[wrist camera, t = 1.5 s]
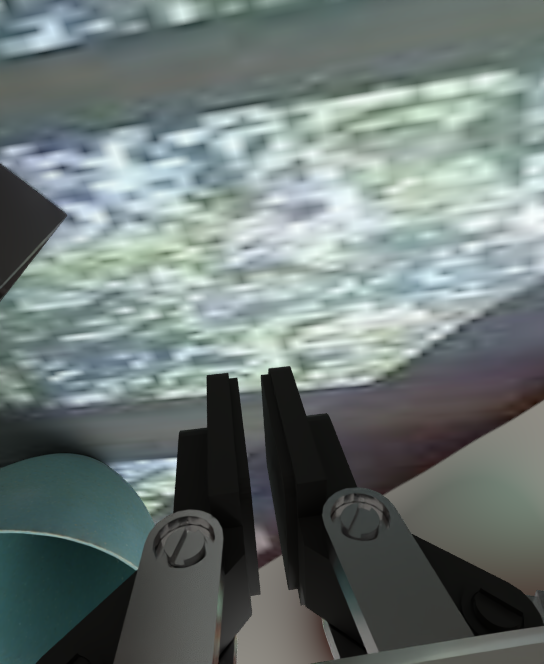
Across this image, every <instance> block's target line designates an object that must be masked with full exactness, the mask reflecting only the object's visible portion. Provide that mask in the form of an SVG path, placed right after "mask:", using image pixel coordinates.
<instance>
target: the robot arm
mask: <svg viewBox="0 0 544 664" xmlns="http://www.w3.org/2000/svg"><path fill="white" fill-rule="evenodd" d="M261 387H262V402H263V417H264V431H265V446H266V459H267V468H268V474H269V480H270V486H271V492H272V498H273V503H274V509H275V515H276V521H277V527H278V532H279V538H280V544H281V550H282V556H283V561H284V567H285V572H286V579H287V585H288V589H289V590H293V589H298V593H299V598H300V603H301V605H305V606H306V607H307V608H308V609H310V610H312V611H313V612H314V613H316V614H317V615H319V616H320V617H322V621H323V627H324V631H325V634H326V637H327V640H328V643H329V646H330V649H331V652H332V654H333V657H334V660H330V661H324V662H318V663H312V664H544V591H540V590H537V591H536V593H535V596H528V595H525V594H524V593H523V592H522V591H521V590H519V589H517V588H516V587H514V586H513V585H511V584H510V583H508V582H506V581H504V580H502V579H500V578H498V577H496V576H494V575H492V574H490V573H488V572H486V571H484V570H482V569H480V568H478V567H476V566H474V565H472V564H470V563H468V562H466V561H464V560H462V559H461V558H458V557H457V556H455V555H453V554H451V553H449V552H447V551H445V550H443V549H441V548H439V547H437V546H435V545H433V544H431V543H429V542H427V541H425V540H423V539H421V538H419V537H417V536H415V535H413V534H411V532H410V531H409V529H408V527H407V526H406V524H405V523H404V521H403V519H402V518H401V516H400V514H399V513H398V511H397V510H396V508H395V507H394V505H393V504H392V503H391V502H390V501H389V500H388V499H387V498H386V497H384V496H383V495H381V494H380V493H378V492H375V491H372V490H370V489H365V488H357V486H356V483H355V480H354V478H353V475H352V473H351V470H350V468H349V465H348V463H347V460H346V458H345V455H344V452H343V450H342V447H341V445H340V442H339V440H338V437H337V435H336V432H335V429H334V427H333V424H332V422H331V419H330V417H329V415H328V414H327V413H326V414H317V415H309V416H306V414H305V411H304V407H303V404H302V401H301V398H300V395H299V392H298V389H297V386H296V383H295V379H294V376H293V373H292V370H291V367H290V366H287V367H278V368H269V370H268V374H266V375H261ZM254 595H260V583H259V573H258V561H257V551H256V540H255V529H254V518H253V507H252V496H251V487H250V478H249V470H248V462H247V453H246V445H245V437H244V429H243V420H242V412H241V404H240V396H239V387H238V379H237V378H230V379H229V375H228V373H223V374H214V375H207V428H200V429H192V430H183V431H180V432H179V440H178V454H177V468H176V482H175V497H174V511H173V514H171V515H169V516H166V517H165V518H164V519H162V520H161V521H160V522H158V523H157V524H156V525H155V526H154V527H153V529H152V530H151V531H150V532H149V534H148V537H147V539H146V541H145V544H144V548H143V552H142V555H141V559H140V563H139V567H138V569H137V570H136V571H135V572H134V573H133V574H132V575H131V576H130V577H129V578H128V579H126V580H125V581H124V582H123V583H122V584H121V585H120V586H119V587H118V588H117V589H115V590H114V591H113V592H112V593H111V594H110V595H109V596H108V597H107V598H106V599H104V600H103V601H102V602H101V603H100V604H99V605H98V606H97V607H96V608H95V609H93V610H92V611H91V612H90V613H89V614H88V615H87V616H86V617H85V618H84V619H82V620H81V621H80V622H79V623H78V624H77V625H76V626H75V627H74V628H73V629H72V630H70V631H69V632H68V633H67V634H66V635H65V636H64V637H63V638H62V639H61V640H59V641H58V642H57V643H56V644H55V645H54V646H53V647H52V648H51V649H50V650H48V651H47V652H46V653H45V654H44V655H43V656H42V657H41V658H40V659H39V660H38V661H37V662H36V664H237V644H238V643H237V633H238V632H239V630H240V629H241V628H242V627H243V626H244V624H245V623H246V621H248V619H249V618H250V617H251V615H252V608H251V599H250V598H251V597H250V596H254Z"/></svg>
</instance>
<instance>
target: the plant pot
mask: <svg viewBox="0 0 544 664" xmlns="http://www.w3.org/2000/svg"><path fill="white" fill-rule="evenodd" d="M154 526H155V525H154V523H153V521H152V518H151V516H150V514H149V512H148V510H147V508H146V507H145V505H144V503H143V502H142V500H141V499H140V497H139V496H138V495H137V493H136V492H135V491H134V489H133V488H132V487H131V486H130V485H129V484H128V483H127V482H126V481H125V480H124V479H123V478H122V477H121V476H120V475H119V474H118V473H116V472H115V471H114V470H113V469H111V468H110V467H109V466H107V465H106V464H104V463H102V462H100V461H98V460H96V459H93V458H91V457H88V456H84V455H79V454H71V453H57V454H49V455H43V456H38V457H33V458H29V459H26V460H22V461H19V462H16V463H13V464H10V465H7V466H5V467H3V468H0V664H36V662H37V661H38V660H39V659H40V658H41V657H42V656H43V655H44V654H45V653H46V652H47V651H48V650H50V649H51V648H52V647H53V646H54V645H55V644H56V643H57V642H58V641H59V640H61V639H62V638H63V637H64V636H65V635H66V634H67V633H68V632H69V631H70V630H72V629H73V628H74V627H75V626H76V625H77V624H78V623H79V622H80V621H81V620H82V619H84V618H85V617H86V616H87V615H88V614H89V613H90V612H91V611H92V610H93V609H95V608H96V607H97V606H98V605H99V604H100V603H101V602H102V601H103V600H104V599H106V598H107V597H108V596H109V595H110V594H111V593H112V592H113V591H114V590H115V589H117V588H118V587H119V586H120V585H121V584H122V583H123V582H124V581H125V580H126V579H128V578H129V577H130V576H131V575H132V574H133V573H134V572H135V571H136V570H137V569H138V567H139V563H140V559H141V555H142V552H143V548H144V544H145V541H146V539H147V537H148V534H149V532H150V531H151V530H152V529H153V527H154Z"/></svg>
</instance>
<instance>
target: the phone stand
mask: <svg viewBox="0 0 544 664" xmlns="http://www.w3.org/2000/svg"><path fill="white" fill-rule="evenodd" d="M66 216H67V214H65V213H64V212H63V211H61V210H60V209H59V208H58V207H56V206H55V205H54V204H52V203H51V202H50V201H48V200H47V199H46V198H44V197H43V196H42V195H40V194H39V193H38V192H36V191H35V190H34V189H32V188H31V187H30V186H29V185H27V184H26V183H25V182H23V181H22V180H21V179H19V178H18V177H17V176H15V175H14V174H13V173H11V172H10V171H9V170H7V169H6V168H5V167H3V166H2V165H1V164H0V301H1V300H2V299H3V297H4V296H5V295H6V294H7V292H8V291H9V290H10V288H11V287H12V286H13V285H14V283H15V282H16V281H17V279H18V278H19V277H20V276H21V274H22V273H23V272H24V270H25V269H26V268H27V267H28V265H29V264H30V263H31V261H32V260H33V259H34V258H35V256H36V255H37V254H38V252H39V251H40V250H41V249H42V247H43V246H44V245H45V243H46V242H47V241H48V240H49V238H50V237H51V236H52V234H53V233H54V232H55V231H56V229H57V228H58V227H59V225H60V224H61V223H62V222H63V220H64V219H65V218H66Z"/></svg>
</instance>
